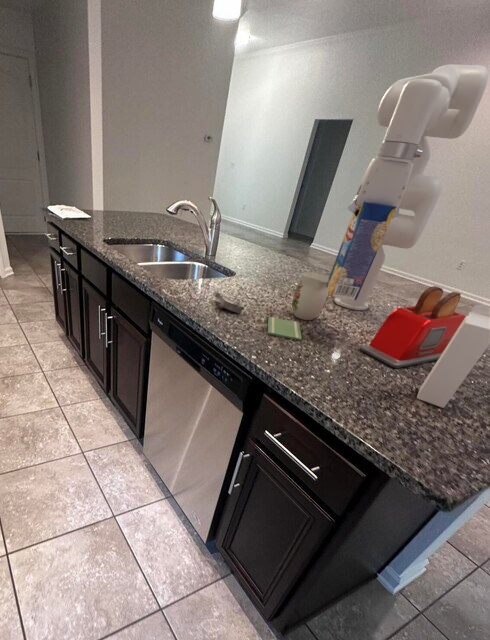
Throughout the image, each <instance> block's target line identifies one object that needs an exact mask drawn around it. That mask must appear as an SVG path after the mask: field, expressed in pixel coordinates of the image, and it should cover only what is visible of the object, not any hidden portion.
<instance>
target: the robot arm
mask: <svg viewBox="0 0 490 640" xmlns="http://www.w3.org/2000/svg"><path fill="white" fill-rule="evenodd" d="M488 80H489V70H488V68H487V67H486V66H485V65H482V64H453V63H452V64H451V63H450V64H449V63H448V64H443V65H441V66H438V67H437V68H435V69H434V70H432V71H431V72H429V73H425V74H421V75H416V76H415V75H414V76H410V77H406V78H405V77H404V78H401V79H398V80H396V81H395V82H394V83H392V84H391V86H389V88H388V89H387V90H386V92H385V94H383V97H382V98H381V100H380V102H379V105H378V109H377V113H376V114H377V115H376V117H377V123H378V125H379V126H380V127H384V128H387V129H386V132H385V135H384V137H383V140H382V142H381V145H380V149H379V151H378V153H377V155H376V157H375V158H372V159H371V161H370V163H369V164H368V167H367V169H366V170H365V172H364V175H363V176H362V179H361V181H360V183H359V186H358V188H357V191H356V193H355V196H354V198H353V199H352V201H351V202H350V204H349V205H348V206H347V210H348V211H350V212H351V213H352V214H353V213H354V214H355V216H356V217H357V215H358V213H359V209H357V208H356V206H358V207H360V208H361V207H362V205H363V203H364V201H365V202H371V203H378V204H385V205H392V206H395V207H396V209H395V212H394V214H393V216H392V219H391V221H390V223H389V226H388V228H387V230H386V232H385V235H384V237H383V239H382V242H381V244H380V246H379V249H378V251H377V253H376V256H375V258H374V260H373V262H372V265H371V267H370V269H369V272H368V274H367V276H366V279H365V281H364V283H363V286H362V288H361V290H360V293H359V295H358V297H357V299H356V300H351V299H345V298H340V297H334V300H333V302H334V304H336V305H338V306H340V307H343V308H346V309H350V310H354V311H367V309H368V308H369V305H368V303H366V302H367V300H368V298H369V295H370V293H371V291H372V288H373V287H374V284H375V282H376V280H377V278H378V276H379V274H380V271H381V269H382V267H383V265H384V262H385V259H386V255H385V254H386V253H385V250H384V247H383V246H390V247H393V248H399V249H407V250H408V249H411V248H413V247H414V246H415V245H416V244H417V242H418V241H419V239H420V237H421V236H422V233H423V231H424V229H425V227H426V225H427V224H428V221H429V219H430V217H431V215H432V213H433V211H434V209H435V207H436V204H437V202H438V200H439V198H440V195H441V193H442V189H443V186H444V185H443V180H442V179H440V178H439V177H437V176H430V175H423V174H424V171H425V169H426V167H427V165H428V162H429V160H430V158H431V149H430V145H429V142H428V139H427V137H429V138H439V139H449V140H450V139H458V138H459V137H461V136H462V135H464V133H465V132H467V130H468V128H469V127H470V125H471V123H472V121H473V118H474V117H475V114H476V112H477V109H478V107H479V105H480V102H481V100H482V99H483V95H484V94H485V90H486V88H487V85H488ZM400 210H405V211H411V212H413V213H414V215H411V214H410V215H409V214H404V213H400Z"/></svg>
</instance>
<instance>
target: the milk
mask: <svg viewBox="0 0 490 640" xmlns="http://www.w3.org/2000/svg"><path fill="white" fill-rule="evenodd" d="M489 346H490V307H488V306H483V305H480V304H475V305H473V307H472V308H471V310H470V311H469V313H467V314H466V317H465V318H464V320H463V322H462V323H461V325H460V326H459V328H458V329H457V331H456V333H455V334H454V336H453V337H452V339H451V340H450V342H449V343H448V345H447V347H446V348H445V350H444V351H443V353H442V354H441V356H440V358H439V359H438V360H436V362H435V364H434V366H433V367H432V369H430V371H429V373H428V375H427V376H426V378H425V379H424V381H423V382H422V384H421V386H420V387H419V389H418V392H417V395H416V399H418V400H420V401H423V402H425V403H428V404H431V405H434V406H437V407H440V408H442V409H445V407H447V404H448V403H449V402H450V400H451V399H452V397H454V395H455V394H456V392H457V391H458V389H459V388H460V386H461V385H462V384H463V382H464V381H465V379H466V378H467V376H469V374H470V372H471V371H472V370H473V368H474V367H475V365H476V364H477V363H478V361H479V360H480V358H481V357H482V356H483V354H484V353H485V352H486V350H487V348H488V347H489Z"/></svg>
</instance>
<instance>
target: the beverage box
mask: <svg viewBox="0 0 490 640" xmlns="http://www.w3.org/2000/svg"><path fill="white" fill-rule="evenodd" d="M356 208H357V209H359V213H358V215H357V217H356V216H355V214H354V213H352V215H351V218H350V220H349V223H348V226H347V227H346V228H347V229H346V231H345V234H344V237H343V239H342V242H341V244H340V247H339V250H338V252H337V255H336V258H335V261H334V263H333V266H332V269H331V271H330V274H329V279H328V282H327V285H326V287H327V289H328V291H329V296H330V297H334V298H336V297H340V298H345V299H351V300H356V299H357V297H358V295H359V293H360V290H361V288H362V286H363V283H364V281H365V279H366V276H367V274H368V272H369V269H370V267H371V265H372V262H373V260H374V258H375V256H376V253H377V251H378V249H379V246H380V244H381V242H382V239H383V237H384V235H385V232H386V230H387V228H388V226H389V223H390V221H391V219H392V216H393V214H394V212H395V209H396V207H395V206H392V205H385V204H378V203H371V202H365V201H364V203H363V205H362V207H361V208H360V207H358V206H356Z"/></svg>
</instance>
